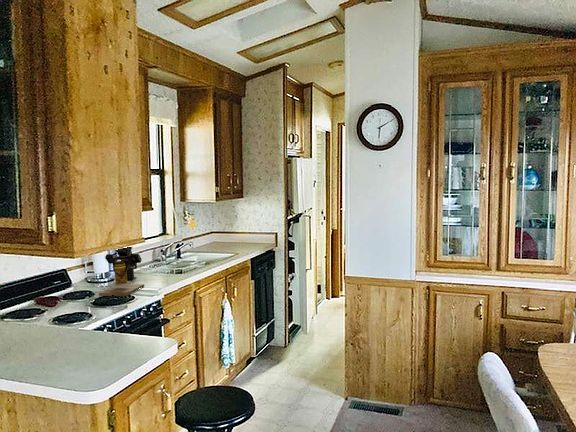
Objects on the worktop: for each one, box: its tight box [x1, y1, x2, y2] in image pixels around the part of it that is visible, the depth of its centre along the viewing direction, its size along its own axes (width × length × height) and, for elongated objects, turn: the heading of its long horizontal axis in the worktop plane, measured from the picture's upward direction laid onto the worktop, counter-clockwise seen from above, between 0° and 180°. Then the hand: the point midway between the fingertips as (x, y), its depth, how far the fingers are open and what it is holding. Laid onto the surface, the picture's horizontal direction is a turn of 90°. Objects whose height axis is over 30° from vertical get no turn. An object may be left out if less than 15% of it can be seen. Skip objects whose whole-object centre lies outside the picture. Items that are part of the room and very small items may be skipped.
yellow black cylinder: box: [110, 260, 130, 286], centre depth 276 cm, size 7×8×12 cm
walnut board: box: [98, 283, 145, 297], centre depth 277 cm, size 20×16×2 cm
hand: (119, 271), depth 275 cm, fingers closed on yellow black cylinder, 6 cm apart
